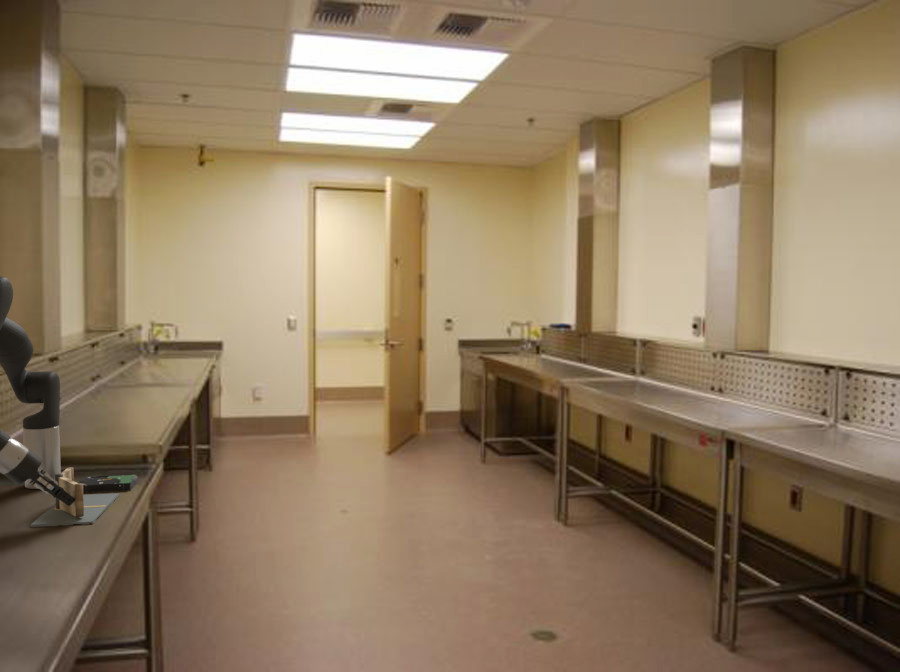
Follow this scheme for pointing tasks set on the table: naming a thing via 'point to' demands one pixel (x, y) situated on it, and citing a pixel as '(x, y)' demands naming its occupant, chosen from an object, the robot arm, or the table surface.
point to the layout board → (55, 517)
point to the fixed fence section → (67, 474)
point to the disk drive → (109, 483)
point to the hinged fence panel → (76, 492)
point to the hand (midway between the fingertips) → (71, 502)
